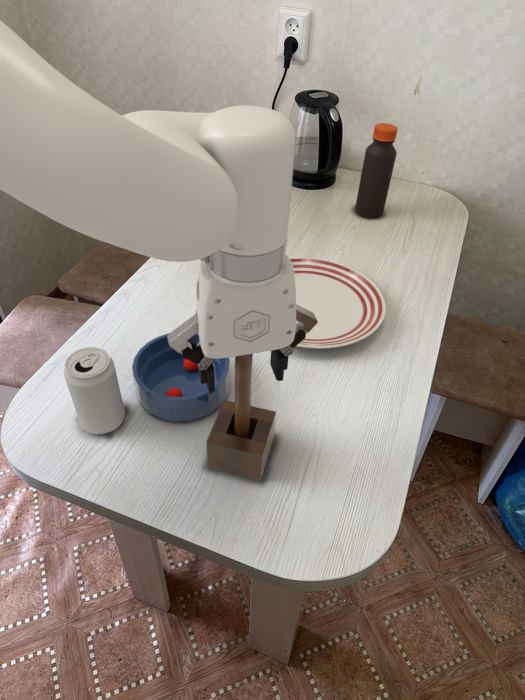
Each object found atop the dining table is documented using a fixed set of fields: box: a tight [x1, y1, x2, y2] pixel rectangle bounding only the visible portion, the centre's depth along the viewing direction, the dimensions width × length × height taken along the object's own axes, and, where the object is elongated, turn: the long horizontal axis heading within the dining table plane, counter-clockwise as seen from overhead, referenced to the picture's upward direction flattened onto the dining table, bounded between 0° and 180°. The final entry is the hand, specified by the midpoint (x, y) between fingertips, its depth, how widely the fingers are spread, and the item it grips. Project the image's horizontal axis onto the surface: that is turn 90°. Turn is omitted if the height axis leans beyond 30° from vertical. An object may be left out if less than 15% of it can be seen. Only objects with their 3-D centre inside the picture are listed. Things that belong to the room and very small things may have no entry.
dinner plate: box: [288, 256, 387, 350], centre depth 93 cm, size 27×27×3 cm
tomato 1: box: [166, 388, 183, 397], centre depth 75 cm, size 2×2×2 cm
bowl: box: [131, 332, 231, 422], centre depth 77 cm, size 14×14×6 cm
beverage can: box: [63, 346, 126, 435], centre depth 69 cm, size 6×6×12 cm
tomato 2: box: [183, 359, 198, 371], centre depth 80 cm, size 2×2×2 cm
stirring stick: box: [234, 353, 254, 439], centre depth 63 cm, size 2×2×20 cm
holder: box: [206, 399, 277, 482], centre depth 68 cm, size 7×7×6 cm
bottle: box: [354, 122, 399, 219], centre depth 115 cm, size 7×7×20 cm
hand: (243, 377), depth 60 cm, fingers open, 7 cm apart
